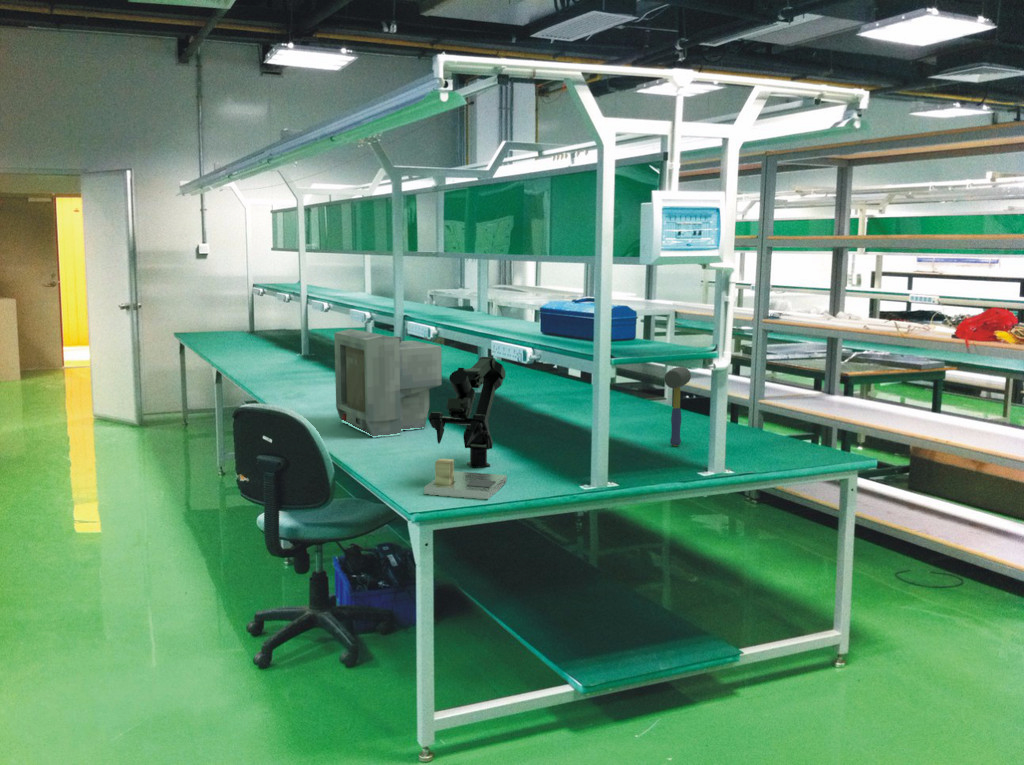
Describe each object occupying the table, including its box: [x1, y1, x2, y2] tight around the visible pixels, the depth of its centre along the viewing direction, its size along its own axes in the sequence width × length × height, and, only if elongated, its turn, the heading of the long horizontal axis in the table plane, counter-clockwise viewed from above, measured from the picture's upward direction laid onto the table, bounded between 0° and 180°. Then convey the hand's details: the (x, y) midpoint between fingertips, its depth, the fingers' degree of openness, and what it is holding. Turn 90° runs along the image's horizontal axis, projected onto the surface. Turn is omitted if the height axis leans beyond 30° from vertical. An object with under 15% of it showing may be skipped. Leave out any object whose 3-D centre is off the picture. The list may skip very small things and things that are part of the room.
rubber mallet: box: [663, 366, 692, 447], centre depth 326 cm, size 12×8×30 cm, turn 152°
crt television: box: [333, 328, 443, 436], centre depth 359 cm, size 39×36×40 cm
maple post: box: [434, 458, 455, 486], centre depth 263 cm, size 4×4×10 cm
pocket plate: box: [423, 470, 508, 500], centre depth 266 cm, size 20×20×3 cm
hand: (452, 443), depth 269 cm, fingers open, 9 cm apart
